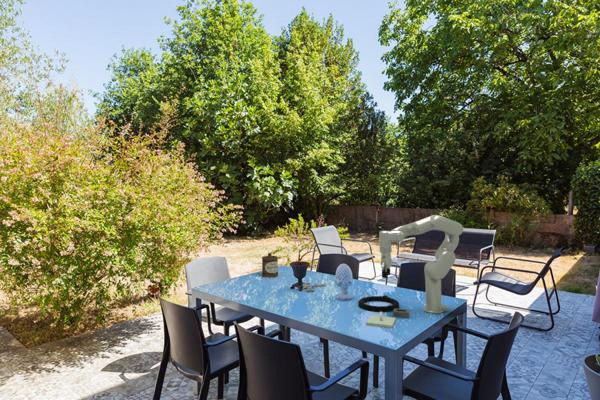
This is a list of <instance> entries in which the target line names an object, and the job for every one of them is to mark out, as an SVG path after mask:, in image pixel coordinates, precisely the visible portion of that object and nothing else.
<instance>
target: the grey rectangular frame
mask: <svg viewBox="0 0 600 400" xmlns="http://www.w3.org/2000/svg"><path fill="white" fill-rule="evenodd" d="M409 317H410V309H402V308H397V309H396V308H394V310H393V311H392V318H402V319H409Z"/></svg>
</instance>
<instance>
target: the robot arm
mask: <svg viewBox="0 0 600 400" xmlns="http://www.w3.org/2000/svg"><path fill="white" fill-rule="evenodd" d="M434 229H436V230H437V229H438V230H439V231H442V232H444V235H445V237H444V240H443V241H442V243H441V244H440V246H439V247H438V249H437V250H436V251H435V253H434V257H435V260H436V261H433V260H432V261H431V260H430V261H428V262H427V263H425V264H424V271H423V272H424V280H425V281H424V282H425V306H423V307H422V311H424V312H426V313H430V314H442V313H444V312H445V310H448V311H449V308H450V306H447V305H443V303H442V279H444V278H445V277H446V276H447V275H448V273H449V272H450V270H451V269H452V267H453V266H454V264H455V261H456V259H457V258H456V254H455V252H454V251H455V250H456V249H457V247H458V245H459V242H460V237H459V236H460V235H462V234H463V231H464V227H463V225H462V224H461V223H460V222H458V221H455V220H453V219H449V218H447V217H444V216H443V215H437V214H432V215H430V216H426V217H425V218H422V219H418V220H417V221H414V222H413V221H412V222H411V223H407V224H404V225H401V226H398V227H395V228H393V229H391V230H380V231H379V233H378V236H379V237H378V238H379V239H378V240H379V253H380V265H381V278H382V279H388V276H391V267H392V254H391V253H392V250H393V249H392V243H401V242H404V240H405V237H408V236H418V235H422V234H426V233H427V232H430V231H432V230H434Z"/></svg>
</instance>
